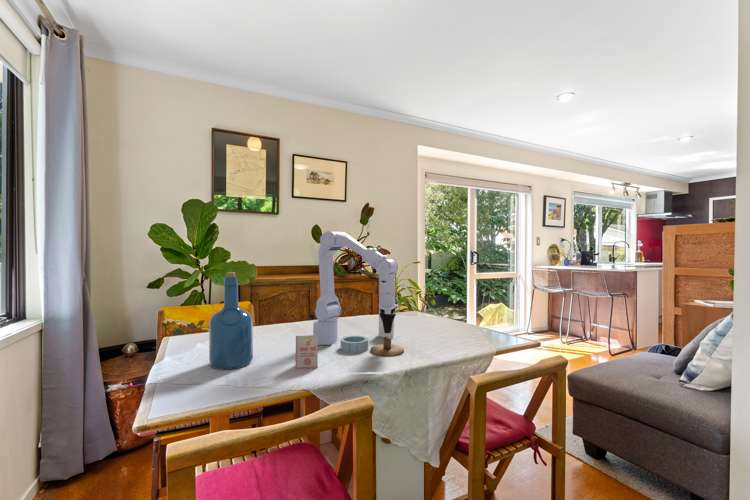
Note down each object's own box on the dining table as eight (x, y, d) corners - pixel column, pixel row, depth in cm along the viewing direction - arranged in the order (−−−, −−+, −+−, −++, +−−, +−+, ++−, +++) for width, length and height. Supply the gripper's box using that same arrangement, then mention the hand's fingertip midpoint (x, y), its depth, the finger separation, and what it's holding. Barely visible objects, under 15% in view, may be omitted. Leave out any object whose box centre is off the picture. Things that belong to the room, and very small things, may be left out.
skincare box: (377, 336, 155) (377, 307, 155) (387, 335, 157) (387, 306, 157) (385, 339, 150) (385, 310, 149) (394, 338, 152) (394, 309, 152)
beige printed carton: (296, 365, 119) (296, 334, 119) (317, 364, 120) (317, 333, 120) (295, 369, 115) (295, 337, 115) (317, 367, 117) (317, 336, 116)
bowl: (339, 354, 131) (339, 342, 131) (342, 346, 141) (342, 335, 141) (367, 354, 131) (367, 342, 130) (368, 346, 141) (368, 335, 140)
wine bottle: (210, 360, 124) (209, 271, 124) (252, 355, 129) (251, 270, 128) (207, 373, 111) (206, 274, 111) (253, 368, 116) (253, 273, 115)
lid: (370, 356, 127) (370, 342, 126) (371, 346, 139) (371, 333, 138) (405, 356, 126) (405, 342, 126) (402, 346, 138) (402, 333, 138)
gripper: (399, 295, 125) (399, 335, 125) (397, 290, 139) (397, 325, 139) (378, 295, 125) (378, 335, 125) (378, 290, 139) (378, 325, 140)
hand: (387, 330), depth 132 cm, fingers open, 7 cm apart
